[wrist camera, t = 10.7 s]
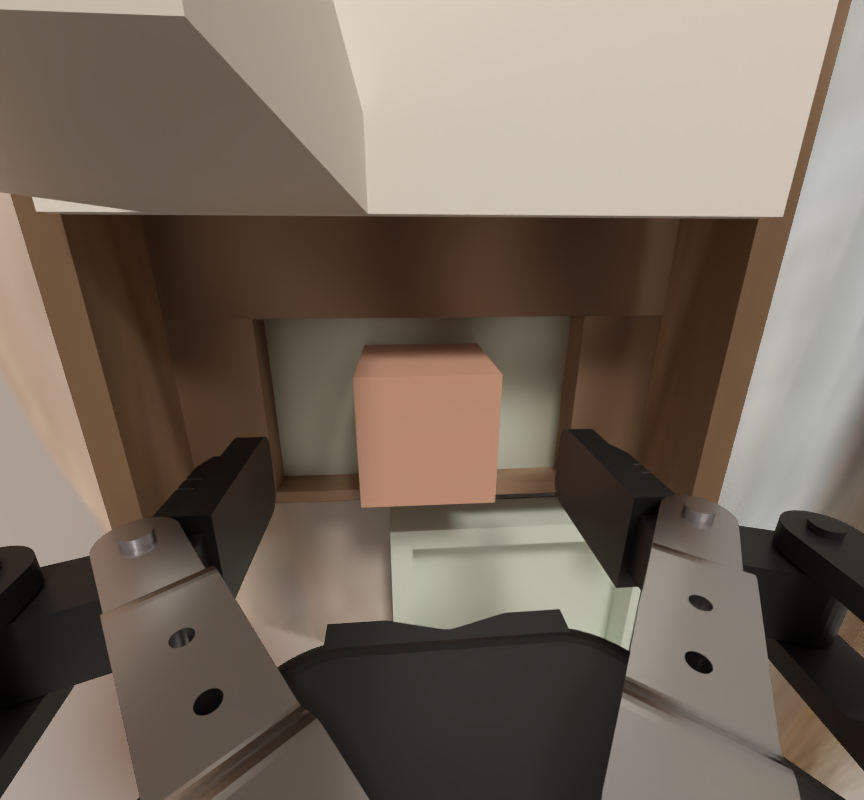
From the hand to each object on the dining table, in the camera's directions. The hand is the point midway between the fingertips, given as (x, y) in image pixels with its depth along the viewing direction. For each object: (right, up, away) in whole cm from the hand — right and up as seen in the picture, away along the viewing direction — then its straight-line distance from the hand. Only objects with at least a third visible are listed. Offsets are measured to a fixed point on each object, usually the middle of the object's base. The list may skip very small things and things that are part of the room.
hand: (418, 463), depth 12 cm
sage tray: (+5, -8, +12) cm, 15 cm away
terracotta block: (0, +2, +6) cm, 6 cm away
